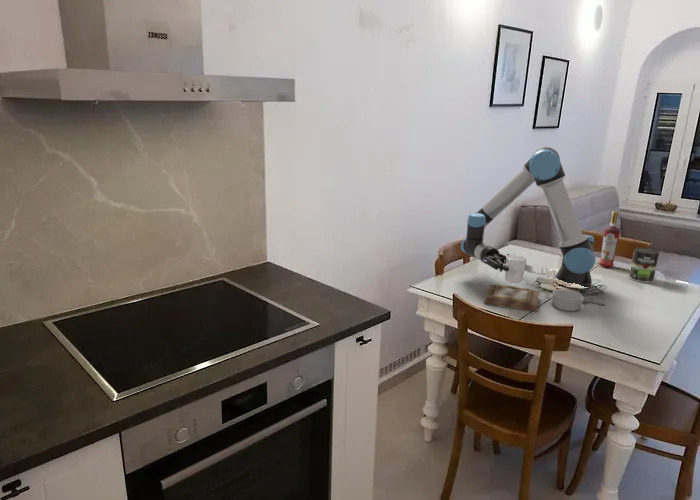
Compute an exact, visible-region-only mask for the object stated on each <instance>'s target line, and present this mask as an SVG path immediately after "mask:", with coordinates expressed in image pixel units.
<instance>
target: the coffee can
mask: <svg viewBox="0 0 700 500" xmlns="http://www.w3.org/2000/svg"><path fill="white" fill-rule="evenodd" d="M632 255H633V256H632V260H631V266H630V271H629V276H628V278H629V279H630V280H632V281H634V282H638V283H644V284H650V283H653V282H654V279H655V275H656V269H657V265H658V262H659V261H658V259H659V255H660V251H658V250H657V249H653V248H650V247H635V248H633V254H632Z"/></svg>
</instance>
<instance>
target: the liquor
mask: <svg viewBox="0 0 700 500" xmlns="http://www.w3.org/2000/svg"><path fill="white" fill-rule="evenodd" d="M618 215H619V211H614V210H613V211H612V212H611V219H610V224H609V226H607V227H605V228H604V229H603V236H602V243H601V253H600V261H599V262H598V264H599V265H600V267H602V268H606V269H611V268H613V267H614V266H615V264H614V263H615V257H616V254H617V253H616V251H617V248H618V244H619V239H620V235H621V230H620V229H619V228H618V227H617V220H618Z"/></svg>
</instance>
